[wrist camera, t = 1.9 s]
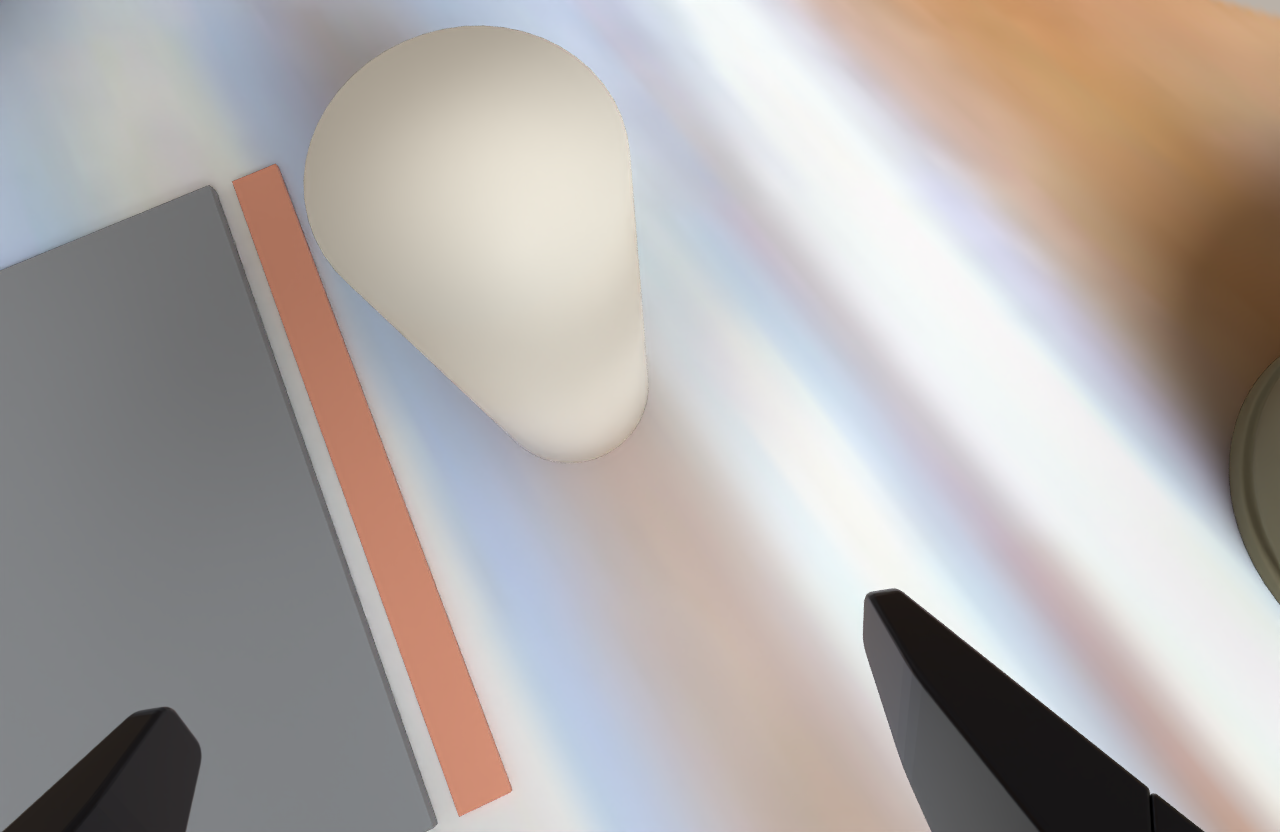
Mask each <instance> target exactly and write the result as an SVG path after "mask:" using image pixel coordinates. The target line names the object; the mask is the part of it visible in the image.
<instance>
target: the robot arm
mask: <svg viewBox="0 0 1280 832" xmlns="http://www.w3.org/2000/svg"><path fill="white" fill-rule="evenodd" d="M863 642H864V647H865V652H866V655H867V658H868V661H869V664H870V667H871V671H872V674H873V677H874V680H875V683H876V686H877V689H878V692H879V695H880V698H881V702H882V705H883V708H884V711H885V714H886V717H887V720H888V723H889V726H890V729H891V732H892V736H893V739H894V742H895V745H896V748H897V751H898V754H899V757H900V760H901V762H902V765H903V768H904V770H905V773H906V775H907V778H908V780H909V782H910V785H911V787H912V789H913V792H914V794H915V796H916V798H917V801H918V803H919V805H920V807H921V809H922V812H923V814H924V816H925V818H926V821H927V823H928V825H929V827H930V829H931V832H1204V831H1203V830H1202V829H1200V828H1199V827H1198V826H1196V825H1195V824H1194V823H1192V822H1191V821H1190V820H1189V819H1187V818H1186V817H1185V816H1184V815H1182V814H1181V813H1180V812H1178V811H1177V810H1176V809H1175V808H1173V807H1172V806H1171V805H1170V804H1168V803H1167V802H1166V801H1165V800H1163V799H1162V798H1161V797H1160V796H1158V795H1157V794H1154V793H1153V794H1151V795H1150V791H1149V788H1148V787H1147V786H1145V785H1144V784H1143V783H1142V782H1140V781H1139V780H1138V779H1137V778H1135V777H1134V776H1133V775H1132V774H1130V773H1129V772H1128V771H1127V770H1125V769H1124V768H1123V767H1122V766H1120V765H1119V764H1118V763H1117V762H1115V761H1114V760H1113V759H1112V758H1110V757H1109V756H1108V755H1107V754H1105V753H1104V752H1103V751H1102V750H1100V749H1099V748H1098V747H1097V746H1095V745H1094V744H1093V743H1092V742H1090V741H1089V740H1088V739H1087V738H1085V737H1084V736H1083V735H1082V734H1080V733H1079V732H1078V731H1077V730H1075V729H1074V728H1073V727H1072V726H1070V725H1069V724H1068V723H1067V722H1065V721H1064V720H1063V719H1062V718H1060V717H1059V716H1058V715H1056V714H1055V713H1054V712H1053V711H1051V710H1050V709H1049V708H1048V707H1046V706H1045V705H1044V704H1043V703H1041V702H1040V701H1039V700H1038V699H1036V698H1035V697H1034V696H1033V695H1031V694H1030V693H1029V692H1028V691H1026V690H1025V689H1024V688H1023V687H1021V686H1020V685H1019V684H1018V683H1016V682H1015V681H1014V680H1013V679H1011V678H1010V677H1009V676H1008V675H1006V674H1005V673H1004V672H1003V671H1001V670H1000V669H999V668H998V667H996V666H995V665H994V664H993V663H991V662H990V661H989V660H988V659H986V658H985V657H984V656H983V655H981V654H980V653H979V652H978V651H976V650H975V649H974V648H973V647H971V646H970V645H969V644H967V643H966V642H965V641H964V640H962V639H961V638H960V637H959V636H957V635H956V634H955V633H954V632H952V631H951V630H950V629H949V628H947V627H946V626H945V625H944V624H942V623H941V622H940V621H939V620H937V619H936V618H935V617H934V616H932V615H931V614H930V613H929V612H927V611H926V610H925V609H924V608H922V607H921V606H920V605H919V604H917V603H916V602H915V601H914V600H912V599H911V598H910V597H909V596H907V595H906V594H905V593H904V592H902V591H900V590H898V589H886V590H879V591H873V592H869V593H868V594H867V595H866V597H865V600H864V620H863ZM201 759H202V753H201V747H200V744H199V742H198V740H197V739H196V738H195V736H194V735H193V734H192V732H191V731H190V730H189V728H188V727H187V726H186V724H185V723H184V722H183V720H182V719H181V718H180V716H179V715H178V714H177V712H176V711H175V710H174V709H172V708H170V707H158V708H151V709H145V710H140V711H137V712H135V713H133V714H131V715H130V716H129V717H127V718H126V719H125V720H124V721H123V722H122V723H121V724H120V725H118V726H117V727H116V728H115V729H114V730H113V731H112V732H111V733H110V734H109V735H107V736H106V737H105V738H104V739H103V740H102V741H101V742H100V743H99V744H98V745H97V746H95V747H94V748H93V749H92V750H91V751H90V752H89V753H88V754H87V755H86V756H84V757H83V758H82V759H81V760H80V761H79V762H78V763H77V764H76V765H75V766H73V767H72V768H71V769H70V770H69V771H68V772H67V773H66V774H65V775H64V776H63V777H61V778H60V779H59V780H58V781H57V782H56V783H55V784H54V785H53V786H52V787H50V788H49V789H48V790H47V791H46V792H45V793H44V794H43V795H42V796H41V797H39V798H38V799H37V800H36V801H35V802H34V803H33V804H32V805H31V806H30V807H29V808H27V809H26V810H25V811H24V812H23V813H22V814H21V815H20V816H19V817H18V818H16V819H15V820H14V821H13V822H12V823H11V824H10V825H9V826H8V827H7V828H6V829H4V830H3V831H2V832H186V830H187V825H188V821H189V816H190V812H191V807H192V802H193V798H194V793H195V789H196V784H197V780H198V775H199V771H200V766H201Z"/></svg>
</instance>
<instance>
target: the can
mask: <svg viewBox="0 0 1280 832" xmlns="http://www.w3.org/2000/svg"><path fill="white" fill-rule="evenodd" d="M1229 480H1230V493H1231V499H1232V504H1233V510H1234V514H1235V518H1236V521H1237V525H1238V529H1239V531H1240V534H1241V537H1242V539H1243V542H1244V545H1245V547H1246V549H1247V552H1248V554H1249V556H1250V558H1251V560H1252V562H1253V564H1254V566H1255V568H1256V570H1257V571H1258V573H1259V575H1260V576H1261V578H1262V580H1263V581H1264V583H1265V585H1266V586H1267V588H1268V589H1269V590H1270V592H1271V593H1272V595H1273V596H1274V597H1275V599H1276V600H1277V602H1278V603H1279V604H1280V356H1279V357H1278V358H1277V359H1276V360H1275V361H1274V362H1273V363H1272V364H1270V366H1269V367H1268V368H1267V369H1266V370H1265V371H1264V372H1263V374H1262V375H1261V376H1260V377H1259V378H1258V380H1257V381H1256V383H1255V384H1254V386H1253V387H1252V389H1251V390H1250V392H1249V394H1248V396H1247V397H1246V399H1245V401H1244V403H1243V405H1242V408H1241V410H1240V413H1239V415H1238V418H1237V421H1236V424H1235V428H1234V432H1233V436H1232V442H1231V449H1230V458H1229Z"/></svg>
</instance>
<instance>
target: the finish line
mask: <svg viewBox="0 0 1280 832" xmlns="http://www.w3.org/2000/svg"><path fill="white" fill-rule="evenodd" d="M232 183H233V185H234V188H235V191H236V194H237V197H238V199H239V202H240V205H241V208H242V211H243V213H244V216H245V219H246V222H247V225H248V227H249V230H250V233H251V236H252V239H253V241H254V244H255V247H256V250H257V253H258V255H259V258H260V261H261V264H262V267H263V269H264V272H265V275H266V278H267V281H268V283H269V286H270V289H271V292H272V295H273V297H274V300H275V303H276V306H277V309H278V311H279V314H280V317H281V320H282V323H283V325H284V328H285V331H286V334H287V337H288V339H289V342H290V345H291V348H292V350H293V353H294V356H295V359H296V362H297V364H298V367H299V370H300V373H301V376H302V378H303V381H304V384H305V387H306V390H307V392H308V395H309V398H310V401H311V404H312V406H313V409H314V412H315V415H316V418H317V420H318V423H319V426H320V429H321V432H322V434H323V437H324V440H325V443H326V446H327V448H328V451H329V454H330V457H331V460H332V462H333V465H334V468H335V471H336V474H337V476H338V479H339V482H340V485H341V488H342V490H343V493H344V496H345V499H346V502H347V504H348V507H349V510H350V513H351V516H352V518H353V521H354V524H355V527H356V530H357V532H358V535H359V538H360V541H361V544H362V546H363V549H364V552H365V555H366V558H367V560H368V563H369V566H370V569H371V572H372V574H373V577H374V580H375V583H376V586H377V588H378V591H379V594H380V597H381V600H382V602H383V605H384V608H385V611H386V614H387V616H388V619H389V622H390V625H391V628H392V630H393V633H394V636H395V639H396V642H397V644H398V647H399V650H400V653H401V656H402V658H403V661H404V664H405V667H406V670H407V672H408V675H409V678H410V681H411V684H412V686H413V689H414V692H415V695H416V698H417V700H418V703H419V706H420V709H421V712H422V714H423V717H424V720H425V723H426V726H427V728H428V731H429V734H430V737H431V739H432V742H433V745H434V748H435V751H436V753H437V756H438V759H439V762H440V765H441V767H442V770H443V773H444V776H445V779H446V781H447V784H448V787H449V790H450V793H451V795H452V798H453V801H454V804H455V807H456V809H457V812H458V815H459V817H460V816H462V815H464V814H466V813H468V812H470V811H472V810H474V809H476V808H479V807H481V806H483V805H485V804H487V803H489V802H491V801H493V800H495V799H498V798H500V797H502V796H504V795H506V794H508V793H510V792H512V788H511V785H510V782H509V780H508V777H507V774H506V772H505V769H504V766H503V764H502V761H501V758H500V756H499V753H498V750H497V748H496V745H495V742H494V740H493V737H492V734H491V732H490V729H489V726H488V724H487V721H486V718H485V716H484V713H483V710H482V708H481V705H480V702H479V700H478V697H477V694H476V692H475V689H474V686H473V684H472V681H471V678H470V676H469V673H468V670H467V668H466V665H465V662H464V660H463V657H462V654H461V652H460V649H459V646H458V644H457V641H456V638H455V636H454V633H453V630H452V628H451V625H450V622H449V620H448V617H447V615H446V612H445V609H444V607H443V604H442V601H441V599H440V596H439V593H438V591H437V588H436V585H435V583H434V580H433V577H432V575H431V572H430V569H429V567H428V564H427V561H426V559H425V556H424V553H423V551H422V548H421V545H420V543H419V540H418V537H417V535H416V532H415V529H414V527H413V524H412V521H411V519H410V516H409V513H408V511H407V508H406V505H405V503H404V500H403V497H402V495H401V492H400V489H399V487H398V484H397V481H396V479H395V476H394V473H393V471H392V468H391V465H390V463H389V460H388V457H387V455H386V452H385V449H384V447H383V444H382V441H381V439H380V436H379V433H378V431H377V428H376V425H375V423H374V420H373V417H372V415H371V412H370V409H369V407H368V404H367V401H366V399H365V396H364V393H363V391H362V388H361V385H360V383H359V380H358V377H357V375H356V372H355V369H354V367H353V364H352V361H351V359H350V356H349V353H348V351H347V348H346V345H345V343H344V340H343V337H342V335H341V332H340V329H339V327H338V324H337V321H336V319H335V316H334V314H333V311H332V308H331V306H330V303H329V300H328V298H327V295H326V292H325V290H324V287H323V284H322V282H321V279H320V276H319V274H318V271H317V268H316V266H315V263H314V260H313V258H312V255H311V252H310V250H309V247H308V244H307V242H306V239H305V236H304V234H303V231H302V228H301V226H300V223H299V220H298V218H297V215H296V212H295V210H294V207H293V204H292V202H291V199H290V196H289V194H288V191H287V188H286V186H285V183H284V180H283V178H282V175H281V172H280V170H279V167H278V166H277V165H276V164H274V165H271V166H269V167H266V168H264V169H261V170H259V171H257V172H254V173H252V174H249V175H247V176H244V177H242V178H240V179H237V180H235V181H232Z"/></svg>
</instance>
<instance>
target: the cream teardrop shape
mask: <svg viewBox="0 0 1280 832" xmlns="http://www.w3.org/2000/svg"><path fill="white" fill-rule="evenodd" d="M304 200H305V206H306V211H307V216H308V220H309V223H310V226H311V229H312V232H313V235H314V237H315V239H316V241H317V243H318V245H319V247H320V249H321V251H322V253H323V254H324V256H325V257H326V259H327V260H328V261H329V263H330V264H331V265H332V267H333V268H334V269H335V271H336V272H337V273H338V274H339V275H340V276H341V277H342V278H343V279H344V280H345V281H346V282H347V283H348V284H349V285H350V286H351V287H352V288H353V289H354V290H355V291H356V292H358V293H359V294H360V295H361V296H362V297H363V298H364V299H365V300H366V301H367V302H368V303H369V304H370V305H371V306H372V307H373V308H375V309H376V310H377V311H378V312H379V313H380V314H381V315H382V316H383V317H384V318H385V319H386V320H387V321H388V322H389V323H390V324H391V325H393V326H394V327H395V328H396V329H397V330H398V331H399V332H400V333H401V334H402V335H403V336H404V337H405V338H406V339H407V340H408V341H409V342H411V343H412V344H413V345H414V346H415V347H416V348H417V349H418V350H419V351H420V352H421V353H422V354H423V355H424V356H425V357H426V358H427V359H429V360H430V361H431V362H432V363H433V364H434V365H435V366H436V367H437V368H438V369H439V370H440V371H441V372H442V373H443V374H444V375H445V376H447V377H448V378H449V379H450V380H451V381H452V382H453V383H454V384H455V385H456V386H457V387H458V388H459V389H460V390H461V391H462V392H463V393H465V394H466V395H467V396H468V397H469V398H470V399H471V400H472V401H473V402H474V403H475V404H476V405H477V406H478V407H479V408H480V409H481V410H483V411H484V412H485V413H486V414H487V415H488V416H489V417H490V418H491V419H492V420H493V421H494V422H495V423H496V424H497V425H498V426H500V427H501V428H502V429H503V430H504V431H505V432H506V433H507V434H508V435H509V436H510V437H511V438H512V439H513V440H514V441H515V442H516V443H518V444H519V445H520V446H521V447H523V448H524V449H525V450H526V451H528V452H530V453H532V454H533V455H535V456H538V457H540V458H543V459H545V460H549V461H553V462H560V463H579V462H586V461H589V460H593V459H596V458H598V457H601V456H603V455H605V454H607V453H609V452H611V451H612V450H614V449H615V448H617V447H618V446H619V445H621V444H622V443H623V442H624V441H625V440H626V439H627V438H628V437H629V436H630V435H631V433H632V432H633V431H634V429H635V428H636V426H637V425H638V423H639V421H640V419H641V417H642V415H643V412H644V410H645V406H646V403H647V397H648V371H647V359H646V346H645V334H644V322H643V309H642V297H641V285H640V272H639V260H638V248H637V235H636V223H635V210H634V198H633V186H632V173H631V161H630V151H629V144H628V137H627V133H626V130H625V126H624V123H623V120H622V116H621V114H620V112H619V110H618V108H617V106H616V104H615V101H614V99H613V98H612V96H611V95H610V93H609V92H608V90H607V89H606V87H605V86H604V84H603V83H602V82H601V81H600V80H599V78H598V77H597V76H596V75H595V74H594V73H593V72H592V70H591V69H590V68H588V67H587V66H586V65H585V64H584V63H583V62H581V61H580V60H579V59H578V58H577V57H575V56H574V55H572V54H571V53H569V52H568V51H566V50H565V49H563V48H562V47H560V46H558V45H556V44H554V43H552V42H550V41H548V40H546V39H544V38H541V37H538V36H535V35H532V34H529V33H526V32H523V31H518V30H514V29H509V28H504V27H493V26H462V27H455V28H448V29H442V30H438V31H434V32H430V33H426V34H422V35H420V36H417V37H415V38H412V39H409V40H407V41H404V42H402V43H400V44H398V45H396V46H394V47H392V48H390V49H388V50H386V51H385V52H383V53H382V54H380V55H379V56H377V57H376V58H374V59H373V60H371V61H370V62H368V63H367V64H366V65H365V66H363V67H362V68H361V69H360V70H359V71H358V72H356V73H355V74H354V75H353V76H352V77H351V78H350V79H349V80H348V81H347V82H346V83H345V84H344V85H343V87H342V88H341V89H340V90H339V91H338V92H337V94H336V95H335V96H334V98H333V99H332V101H331V102H330V103H329V105H328V106H327V108H326V109H325V111H324V113H323V115H322V117H321V119H320V120H319V122H318V124H317V127H316V129H315V132H314V134H313V137H312V139H311V142H310V145H309V149H308V154H307V158H306V162H305V172H304Z"/></svg>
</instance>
